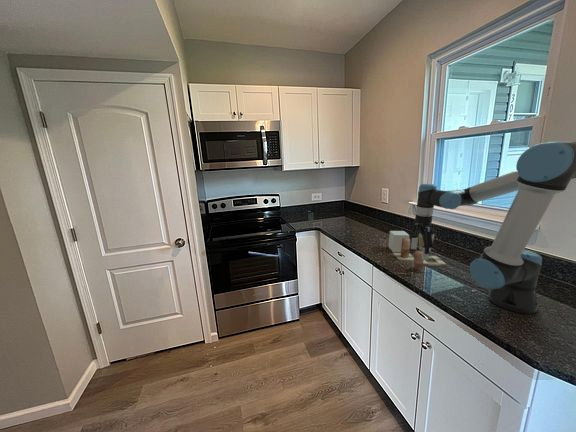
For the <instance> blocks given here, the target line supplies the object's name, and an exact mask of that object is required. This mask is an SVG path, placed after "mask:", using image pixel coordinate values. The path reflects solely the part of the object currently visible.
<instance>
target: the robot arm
mask: <svg viewBox="0 0 576 432" xmlns="http://www.w3.org/2000/svg"><path fill="white" fill-rule="evenodd" d="M575 179H576V141H547V142H541V143H537V144H535V145H532V146H531V147H528V148H527V149H526V150H524V151H523V152H522V153H521V154H520V156H519V157H518V159H517V161H516V170H514V171H511V172H509V173H505V174H503V175H500V176H497V177H495V178H491V179H489V180H486V181H484V182H481V183H478V184H475V185H473V186H470V187H467V188H465V189H464V188H463V189H453V190H440V189H437V185H436V184H434V183H421V184H420V185H419V187H418V191H417V200H416V201H417V202H416V208H415V217H414V224H413V226H412V229H411V232H410V235H411V237H412V238H411V243H410V245H411V246H410V249H411V250H418V249H417V248H418V243H419V234H420V233H421V235H422V237H423V242H424V246H423V252H422V259H423V260H425V261H428V260H429V259H428V256H430V251H429V249H430V248H431V249H433V248H434V247H433V244H432V234H431V230H432V228H433V227H429V225H430V224H432V221H433V214H434V210H435V208H434V207H440V208H442V209H446V210H447V209H448V210H456V209H457V208H459V207H462V206H463V207H464V206H473V205H476V204H478V203H479V202H483V201H486V200H490V199H493V198H495V197H496V198H497V197H499V196H504V195H506V194H510V193H513V192H517V193H516V194H515V197H514V199H513V201H512V202H511V205H510V207H509V209H508V211H507V213H506V215H505V217H504V219H503V221H502V223H501V225H500V227H499V229H498V232H497V233H496V236H495V238H494V240H493V242H492V244H491V245H490V246H486V247H484V249H483V252H482V253H481V255H480V257H477V258H475V259H473V260H472V261H471V262H470V264H469V272H470V275H471V276H472V279H473V280H474V282H476V283H477V284H478V285H479V286H481V287H483V288H485V289H489V292H488V300H489V301H490V302H492V303H493V305H496V306H498V307H500V308H502V309H504V310H507V311H509V310H510V311H509V312H513V311H514V312H513V313H517V312H519V313H518V314H523V313H525V314H524V315H528V314H529V315H533V314H535V313H537V311H538V308H539V304H538V300H537V295H536V288H537V284H538V279H539V276H540V272H541V269H542V266H543V264H542V262H543V257H542V255H540V254H538V253H536V252H533V251H531V250H526V247H527V245H528V243H530V240H531V238H532V236H533V234H534V233H535V231H536V229H537V228H538V225H539V224H540V222H541V220H542V219H543V216H544V214H545V213H546V211H547V209H548V207H549V205H550V204H551V202H552V200H553V198H554V197H555V195H557V194H558V193H563V192H565V190H566V188H567V187H568V185H569V184H570V183H571V180H575Z"/></svg>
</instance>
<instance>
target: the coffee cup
mask: <svg viewBox="0 0 576 432" xmlns="http://www.w3.org/2000/svg"><path fill="white" fill-rule="evenodd" d="M431 228H432V230H431V234H432V245H433V243H434V239H435V235H436V229H435V228H433V227H431ZM423 246H424V242H423V237H422V235H421V233H420V234H419V235H418V249H419V251H423ZM430 251H432V248H430V249H429V252H430Z"/></svg>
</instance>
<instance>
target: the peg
mask: <svg viewBox="0 0 576 432" xmlns="http://www.w3.org/2000/svg"><path fill="white" fill-rule="evenodd" d="M422 252H423V251H422V250H420V249H419V250H418V249H416V250H415V251H414V256H413V257H414V260H413V266H412V267H413V270H415V273H416V274H422V273H423V268H424V266H423V261H424V260H423V259H422Z"/></svg>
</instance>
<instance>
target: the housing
mask: <svg viewBox="0 0 576 432" xmlns="http://www.w3.org/2000/svg"><path fill="white" fill-rule="evenodd" d="M410 235H411V234H409V233H407V232H406V231H404V230H389V235H388V236H389V237H388V249H389V250H390V251H392V253H401V245H402V238H409V239H410Z"/></svg>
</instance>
